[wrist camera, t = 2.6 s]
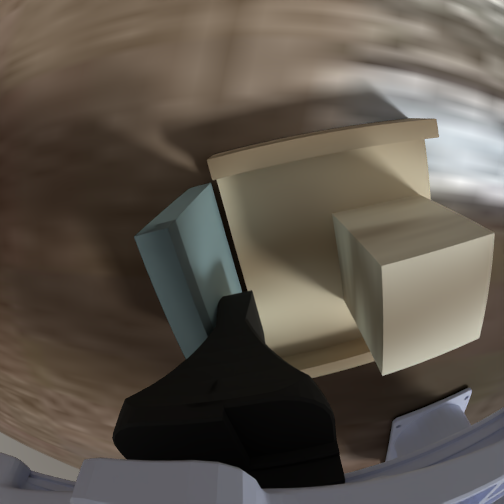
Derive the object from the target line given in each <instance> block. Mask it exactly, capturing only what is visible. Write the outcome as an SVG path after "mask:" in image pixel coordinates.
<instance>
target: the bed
mask: <svg viewBox="0 0 504 504" xmlns="http://www.w3.org/2000/svg"><path fill="white" fill-rule="evenodd" d="M437 137H439V134H438V127H437V121H436V119H420V118H408V119H399V120H390V121H382V122H374V123H367V124H360V125H353V126H346V127H340V128H334V129H328V130H322V131H317V132H311V133H306V134H301V135H296V136H291V137H286V138H281V139H277V140H272V141H268V142H263V143H259V144H254V145H250V146H246V147H242V148H238V149H234V150H230V151H226V152H222V153H218V154H215V155H212V156H211V157H210V158H209V159H207V163H208V167H209V170H210V174H211V178H212V180H216V179H217V183H218V187H219V190H220V194H221V198H222V201H223V205H224V209H225V212H226V216H227V219H228V223H229V227H230V230H231V234H232V237H233V241H234V245H235V248H236V252H237V255H238V259H239V262H240V266H241V269H242V273H243V276H244V280H245V283H246V287H247V290H248V291H250V290H252V291H253V295H254V299H255V302H256V306H257V309H258V313H259V317H260V320H261V324H262V327H263V331H264V337H265V344H266V345H267V346H268V347H269V348H270V349H271V350H272V351H274V352H275V353H276V354H277V355H278V356H280V357H281V358H282V359H283V360H284V361H286V362H287V363H289V364H290V365H292V366H293V367H295V368H297V369H298V370H300V371H302V372H304V373H306V374H308V375H310V377H311V378H315V377H319V376H323V375H327V374H331V373H335V372H338V371H342V370H346V369H349V368H353V367H357V366H360V365H363V364H367V363H370V362H373V361H375V360H374V358H373V356H372V354H371V352H370V350H369V348H368V346H367V344H366V342H365V340H364V338H363V336H362V334H361V332H360V330H359V328H358V326H357V324H356V322H355V321H354V319H353V317H352V315H351V313H350V311H349V309H348V307H347V305H346V303H345V301H344V298H343V289H342V281H341V273H340V265H339V257H338V250H337V243H336V236H335V230H334V223H333V217H332V213H336V212H341V211H345V210H350V209H354V208H359V207H364V206H368V205H373V204H377V203H382V202H387V201H391V200H396V199H401V198H405V197H410V196H415V195H421V196H424V197H426V198H428V199H430V185H429V174H428V164H427V156H426V148H425V140H424V139H428V138H437ZM430 200H431V199H430Z"/></svg>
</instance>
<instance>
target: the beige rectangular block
mask: <svg viewBox="0 0 504 504" xmlns="http://www.w3.org/2000/svg"><path fill="white" fill-rule="evenodd" d="M332 217H333V223H334V230H335V236H336V243H337V250H338V257H339V265H340V273H341V281H342V289H343V298H344V301H345V303H346V305H347V307H348V309H349V311H350V313H351V315H352V317H353V319H354V321H355V322H356V324H357V326H358V328H359V330H360V332H361V334H362V336H363V338H364V340H365V342H366V344H367V346H368V348H369V350H370V352H371V354H372V356H373V358H374V360H375V362H376V364H377V366H378V368H379V370H380V372H381V374H382V376H384V375H387V374H390V373H393V372H396V371H399V370H402V369H404V368H407V367H410V366H413V365H416V364H418V363H421V362H424V361H426V360H429V359H431V358H434V357H436V356H439V355H441V354H444V353H446V352H449V351H451V350H453V349H456V348H458V347H460V346H463V345H465V344H467V343H469V342H472V341H474V340H476V339H478V338H479V337H480V332H481V328H482V323H483V318H484V313H485V308H486V302H487V297H488V290H489V283H490V276H491V268H492V259H493V248H494V234H495V233H494V232H492V231H490V230H489V229H487V228H485V227H483V226H481V225H479V224H478V223H476V222H474V221H472V220H470V219H468V218H466V217H464V216H462V215H460V214H458V213H457V212H455V211H453V210H451V209H449V208H447V207H444V206H442V205H440V204H438V203H436V202H434V201H432V200H430V199H428V198H426V197H424V196H421V195H415V196H410V197H405V198H401V199H396V200H391V201H387V202H382V203H377V204H373V205H368V206H364V207H359V208H354V209H350V210H345V211H341V212H336V213H332Z"/></svg>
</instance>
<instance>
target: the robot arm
mask: <svg viewBox="0 0 504 504" xmlns="http://www.w3.org/2000/svg"><path fill="white" fill-rule="evenodd" d="M471 393H472V390H471V388H466V389H464V390H462V391H460V392H458V393H456V394H454V395H452V396H449V397H447V398H445V399H443V400H440V401H438V402H436V403H433V404H431V405H429V406H426V407H424V408H421V409H419V410H416V411H413V412H411V413H408V414H406V415H403V416H400V417H397V418H396V419H394V420H393V422H392V428H391V434H390V440H389V445H388V451H387V456H386V461H385V462H383V463H380V464H377V465H374V466H371V467H367V468H364V469H361V470H357V471H353V472H350V473H346V474H344V472H343V468H342V464H341V460H340V456H339V455H340V454H339V448H338V444H337V440H336V429H335V419H334V414H333V412H332V409H331V407H330V405H329V403H328V401H327V399H326V398H325V396H324V395H323V393H322V392H321V390H320V389H319V387H318V386H317V385H316V383H315V382H314V381H313V379H312V378H311V377H310V375H308V374H306V373H304V372H302V371H300V370H298V369H297V368H295V367H293V366H292V365H290V364H289V363H287V362H286V361H284V360H283V359H282V358H281V357H280V356H278V355H277V354H276V353H275V352H274V351H272V350H271V349H270V348H269V347H268V346H267V345H266V344H265V337H264V331H263V327H262V324H261V320H260V317H259V313H258V309H257V306H256V302H255V299H254V295H253V291H252V290H250V291H246V292H241V293H236V294H232V295H227V296H223V297H222V298H221V299H220V300H219V303H218V306H217V318H216V327H215V328H214V329H213V331H212V332H211V333H210V335H209V336H208V337H207V339H206V340H205V341H204V342H203V343H202V344H201V345H200V346H199V347H198V349H197V350H196V351H195V352H194V353H193V354H192V355H191V356H189V357H188V358H187V359H186V360H185V361H184V362H182V363H181V364H180V365H179V366H178V367H177V368H175V369H174V370H173V371H172V372H170V373H169V374H167V375H166V376H165V377H163V378H162V379H160V380H159V381H157V382H156V383H154V384H152V385H151V386H149V387H147V388H145V389H144V390H142V391H140V392H138V393H136V394H134V395H132V396H130V397H128V398H126V399H125V401H124V403H123V406H122V409H121V411H120V414H119V417H118V420H117V423H116V426H115V429H114V432H113V437H112V438H113V442H114V445H115V446H116V447H117V449H118V450H119V451H120V453H121V454H122V455H123V456H124V457H125V458H126V459H127V460H126V459H112V458H90V459H85V460H84V461H83V463H82V466H81V469H80V472H79V475H78V477H77V480H76V482H75V481H70V480H66V479H61V478H57V477H53V476H49V475H45V474H42V473H38V472H35V471H31V470H30V468H29V467H28V466H27V465H25V464H24V463H23V462H22V461H21V460H19V459H18V458H16V457H13V456H10V455H7V454H4V453H0V504H504V407H503V408H502V409H500V410H498V411H497V412H495V413H493V414H491V415H490V416H488V417H486V418H484V419H483V420H481V421H479V422H477V423H475V424H473V425H471V424H470V422H469V421H468V419H467V417H466V416H465V414H464V411H465V409H466V406H467V404H468V401H469V398H470V396H471Z"/></svg>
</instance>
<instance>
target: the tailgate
mask: <svg viewBox="0 0 504 504" xmlns="http://www.w3.org/2000/svg"><path fill="white" fill-rule="evenodd" d="M134 238H135V240H136V243H137V246H138V249H139V251H140V254H141V256H142V259H143V262H144V264H145V267H146V269H147V272H148V274H149V277H150V279H151V282H152V284H153V287H154V289H155V292H156V294H157V296H158V299H159V301H160V303H161V306H162V308H163V310H164V313H165V315H166V317H167V320H168V322H169V324H170V326H171V328H172V331H173V333H174V335H175V337H176V339H177V342H178V344H179V346H180V348H181V350H182V352H183V354H184V356H185V358H186V359H187V358H188V357H189V356H191V355H192V354H193V353H194V352H195V351H196V350H197V349H198V347H199V346H200V345H201V344H202V343H203V342H204V341H205V340H206V339H207V337H208V336H209V335H210V333H211V332H212V331H213V329H214V328H215V327H216V318H217V306H218V303H219V300H220V299H221V298H222V297H223V296H227V295H232V294H236V293H241V292H242V289H241V286H240V282H239V279H238V276H237V272H236V269H235V265H234V262H233V258H232V255H231V252H230V248H229V245H228V241H227V238H226V234H225V231H224V227H223V224H222V220H221V217H220V213H219V210H218V206H217V202H216V199H215V195H214V192H213V188H212V184H211V183H208V184H204V185H200V186H196V187H192V188H189V189H188V190H187V191H185V192H184V193H183V194H182V195H181V196H180V197H178V198H177V199H176V200H175V201H174V202H172V203H171V204H170V205H169V206H168V207H167V208H166V209H164V210H163V211H162V212H161V213H160V214H159V215H158V216H156V217H155V218H154V219H153V220H152V221H151V222H150V223H148V224H147V225H146V226H145V227H144V228H143V229H142V230H141V231H140V232H139V233H137V234H136V235H135V236H134Z"/></svg>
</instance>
